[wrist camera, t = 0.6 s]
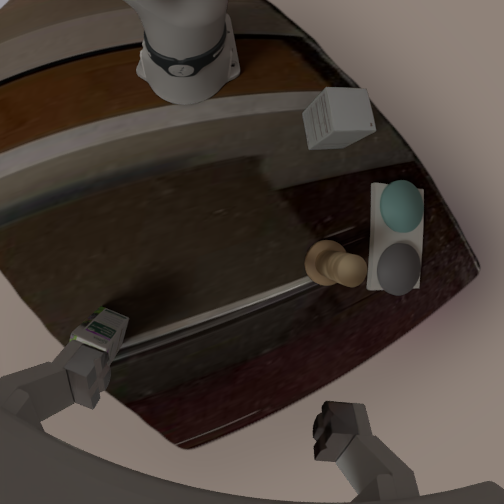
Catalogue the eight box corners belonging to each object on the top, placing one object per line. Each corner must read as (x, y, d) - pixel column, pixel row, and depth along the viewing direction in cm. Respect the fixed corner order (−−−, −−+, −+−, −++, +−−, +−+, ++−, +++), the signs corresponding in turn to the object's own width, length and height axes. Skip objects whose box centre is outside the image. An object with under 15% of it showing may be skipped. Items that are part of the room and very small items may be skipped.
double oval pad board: (371, 178, 56) (378, 176, 53) (419, 185, 58) (427, 184, 55) (366, 293, 58) (373, 296, 55) (414, 291, 60) (421, 294, 57)
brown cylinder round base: (305, 239, 55) (329, 242, 44) (346, 240, 56) (377, 244, 45) (303, 284, 56) (326, 298, 45) (343, 283, 57) (373, 296, 46)
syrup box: (130, 316, 52) (107, 347, 37) (122, 345, 52) (100, 382, 38) (101, 305, 51) (70, 331, 36) (94, 334, 51) (64, 366, 37)
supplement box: (337, 112, 54) (368, 88, 42) (344, 149, 55) (378, 132, 42) (300, 112, 53) (325, 85, 41) (307, 150, 54) (334, 132, 41)
